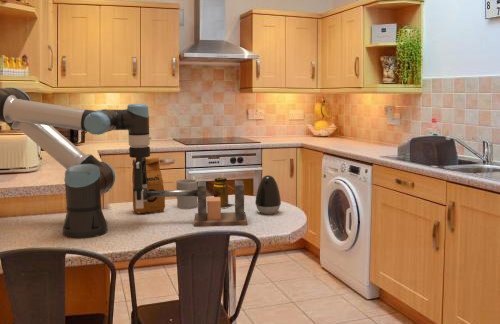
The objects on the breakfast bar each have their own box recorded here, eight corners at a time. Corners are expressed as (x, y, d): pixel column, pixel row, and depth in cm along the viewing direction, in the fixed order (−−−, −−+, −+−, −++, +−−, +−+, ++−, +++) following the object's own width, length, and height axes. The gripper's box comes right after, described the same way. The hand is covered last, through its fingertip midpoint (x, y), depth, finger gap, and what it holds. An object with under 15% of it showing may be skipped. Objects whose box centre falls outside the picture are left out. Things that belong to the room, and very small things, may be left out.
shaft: (135, 201, 200) (135, 189, 199) (137, 198, 204) (137, 187, 204) (201, 199, 202) (200, 188, 201) (201, 197, 206) (201, 185, 205)
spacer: (207, 219, 202) (206, 201, 201) (207, 215, 209) (207, 197, 208) (220, 219, 202) (220, 201, 201) (220, 214, 209) (220, 196, 208)
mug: (198, 208, 226) (198, 182, 225) (178, 209, 225) (177, 183, 223) (195, 202, 238) (195, 177, 236) (176, 203, 236) (175, 178, 235)
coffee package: (166, 212, 219) (165, 158, 216) (135, 215, 215) (133, 160, 211) (161, 207, 228) (159, 155, 225) (131, 210, 224) (129, 157, 221)
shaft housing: (194, 226, 198) (193, 187, 196) (195, 216, 212) (194, 180, 210) (247, 225, 199) (247, 186, 197) (245, 215, 213) (244, 179, 211)
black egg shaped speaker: (252, 215, 214) (252, 177, 212) (258, 209, 224) (258, 172, 222) (278, 216, 212) (278, 178, 209) (282, 210, 222) (283, 173, 219)
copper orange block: (209, 207, 228) (209, 179, 227) (220, 203, 236) (219, 175, 234) (224, 208, 225) (224, 180, 223) (234, 204, 232) (234, 177, 231)
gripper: (146, 150, 188) (148, 211, 191) (153, 142, 211) (155, 197, 214) (124, 150, 188) (126, 212, 191) (133, 142, 211) (135, 198, 214)
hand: (141, 204), depth 203 cm, fingers open, 11 cm apart
